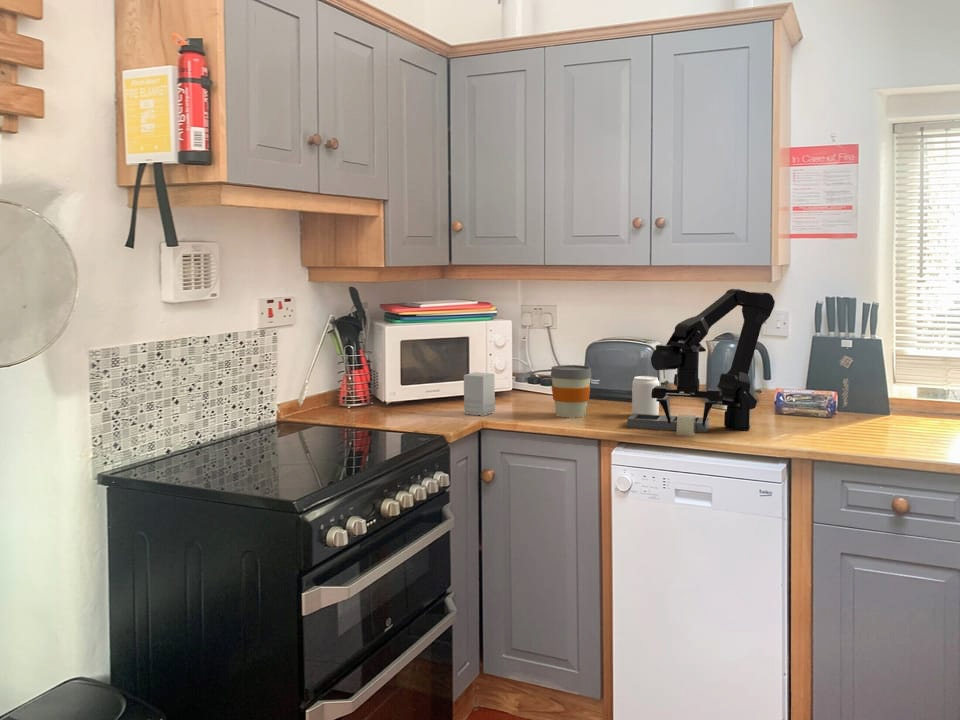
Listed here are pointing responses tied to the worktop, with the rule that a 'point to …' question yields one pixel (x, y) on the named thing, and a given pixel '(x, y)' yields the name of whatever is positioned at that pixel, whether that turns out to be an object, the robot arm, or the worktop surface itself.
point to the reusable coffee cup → (571, 389)
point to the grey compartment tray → (661, 422)
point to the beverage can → (644, 395)
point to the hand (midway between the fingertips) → (686, 424)
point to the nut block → (686, 425)
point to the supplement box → (479, 393)
